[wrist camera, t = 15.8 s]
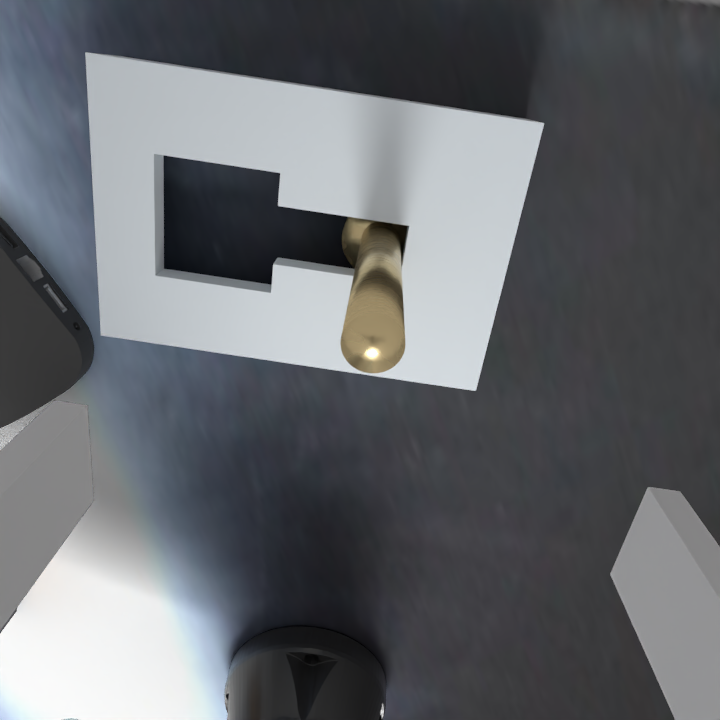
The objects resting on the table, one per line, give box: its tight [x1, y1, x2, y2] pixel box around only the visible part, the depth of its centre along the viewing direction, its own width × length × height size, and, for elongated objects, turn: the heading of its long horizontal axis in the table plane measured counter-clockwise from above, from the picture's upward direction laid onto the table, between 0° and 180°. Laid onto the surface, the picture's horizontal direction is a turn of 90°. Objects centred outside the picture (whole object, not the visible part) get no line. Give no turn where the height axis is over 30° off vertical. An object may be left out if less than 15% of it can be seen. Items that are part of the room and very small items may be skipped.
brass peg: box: [340, 217, 408, 373], centre depth 30 cm, size 5×5×18 cm
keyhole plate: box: [85, 52, 544, 391], centre depth 36 cm, size 24×16×4 cm, turn 82°
